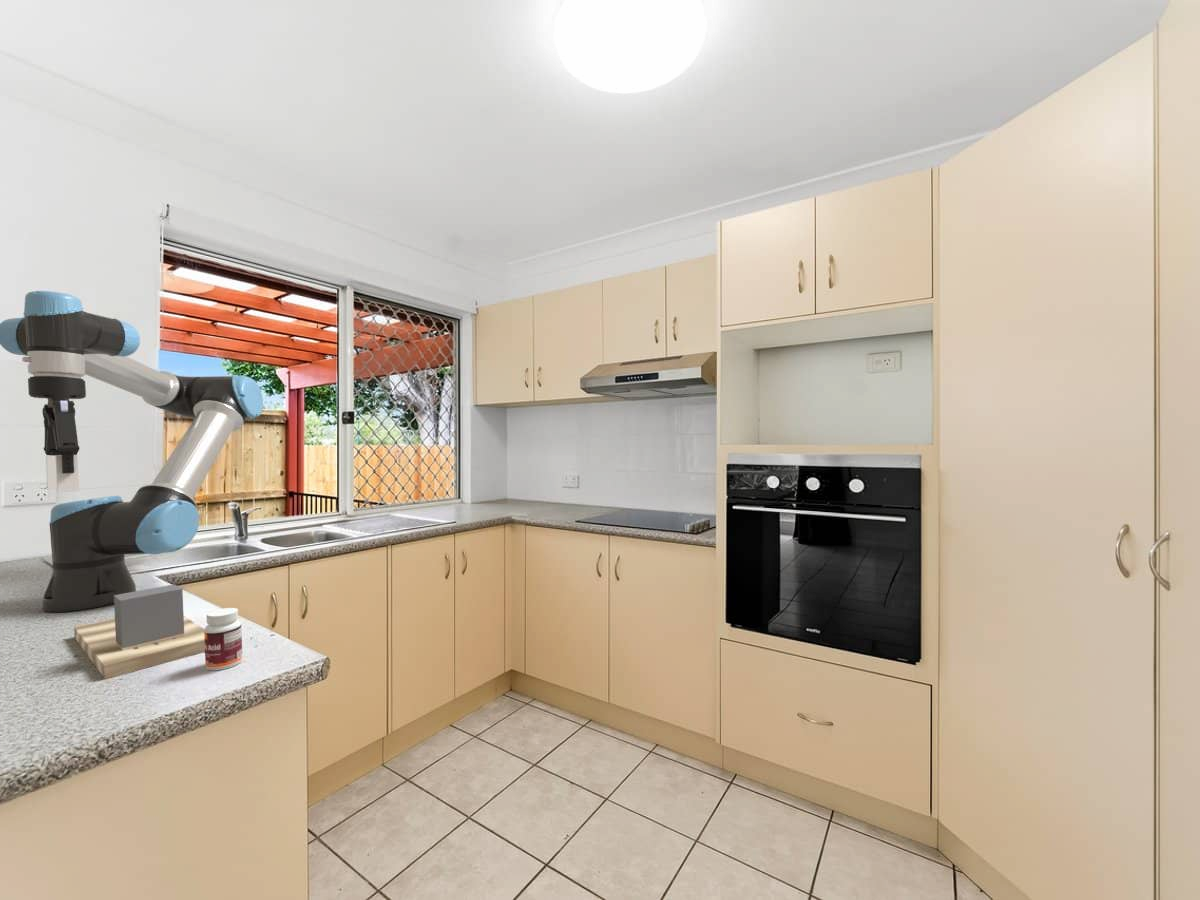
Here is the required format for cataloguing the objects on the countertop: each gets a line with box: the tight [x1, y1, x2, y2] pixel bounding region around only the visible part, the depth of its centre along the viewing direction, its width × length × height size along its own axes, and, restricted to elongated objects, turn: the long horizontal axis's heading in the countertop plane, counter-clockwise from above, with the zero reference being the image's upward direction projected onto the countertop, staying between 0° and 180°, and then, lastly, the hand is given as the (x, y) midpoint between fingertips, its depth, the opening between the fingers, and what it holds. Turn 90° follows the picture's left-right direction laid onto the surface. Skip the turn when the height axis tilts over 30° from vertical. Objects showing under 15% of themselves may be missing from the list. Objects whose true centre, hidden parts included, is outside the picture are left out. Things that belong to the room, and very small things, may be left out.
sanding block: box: [113, 583, 185, 650], centre depth 90 cm, size 8×5×8 cm, turn 141°
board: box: [73, 615, 205, 680], centre depth 93 cm, size 28×14×2 cm, turn 51°
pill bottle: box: [204, 607, 243, 671], centre depth 83 cm, size 5×5×8 cm
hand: (62, 490), depth 100 cm, fingers open, 13 cm apart
